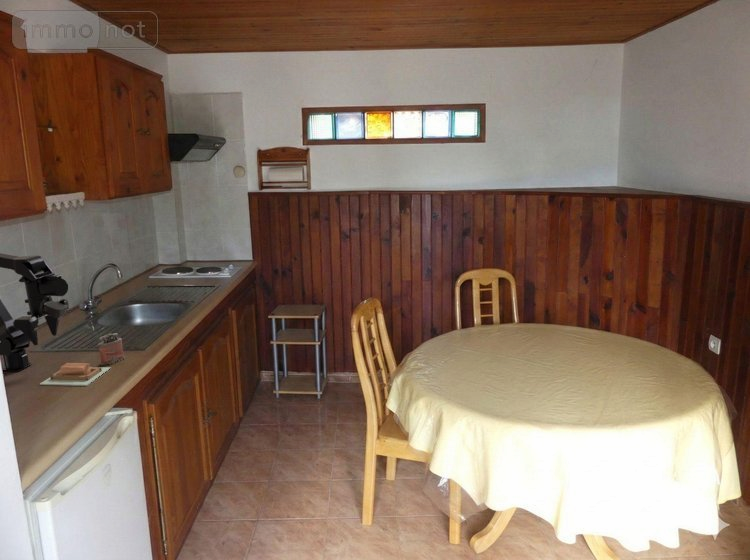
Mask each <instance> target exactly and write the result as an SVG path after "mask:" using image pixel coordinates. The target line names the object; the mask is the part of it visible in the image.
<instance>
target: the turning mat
mask: <svg viewBox="0 0 750 560" xmlns="http://www.w3.org/2000/svg"><path fill="white" fill-rule="evenodd" d="M110 368H111V369H112V367H110V366H109V367H106V366H103V367H102V366H90V370H91V373H90V374H88V375H87V376H81V375H61V369H59V370H58V371H56V372H54V373H53V374H51V375H50V376H49V377H48V378H47V379H45V380H44V381H42V382H40V383H39V385H40V386H71V387H72V386H74V387H80V386H82V387H87V386H89V385H90V384H92V383H93V382H94V381H96V380H97V379H99V378H100V377H101V375H102V374H103V373H104V374H106V373H107V372H109V371H110V370H111V369H110ZM109 369H110V370H109ZM108 370H109V371H108ZM106 371H107V372H106ZM105 372H106V373H105ZM104 374H103V375H104ZM103 375H102V376H103ZM99 376H100V377H99ZM98 377H99V378H98ZM96 378H97V379H96ZM95 379H96V380H95ZM91 382H92V383H91Z"/></svg>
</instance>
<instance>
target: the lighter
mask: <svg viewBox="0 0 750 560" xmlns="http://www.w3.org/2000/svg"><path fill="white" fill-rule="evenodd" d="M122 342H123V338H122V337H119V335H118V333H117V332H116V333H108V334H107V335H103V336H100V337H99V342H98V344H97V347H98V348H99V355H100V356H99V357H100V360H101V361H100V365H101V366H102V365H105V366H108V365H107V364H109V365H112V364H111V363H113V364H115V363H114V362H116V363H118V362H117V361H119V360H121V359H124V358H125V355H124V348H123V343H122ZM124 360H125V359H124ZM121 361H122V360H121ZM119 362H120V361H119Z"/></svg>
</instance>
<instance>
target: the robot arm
mask: <svg viewBox="0 0 750 560" xmlns="http://www.w3.org/2000/svg"><path fill="white" fill-rule="evenodd" d="M47 263H48V262H46V261H45V260H44V259H43V256H40V255H25V256H18V255H11V254H7V253H2V252H0V268H2V269H7V270H12V271H14V272H15V274H16V275H20V276H21V277H20V278H19V280H18V282H19V283H24V286H25V288H24V289H25V293H26V297H27V299H24V304H28V307H29V311H27V312H26V314H27V315H26V316H25V315H23V316H20V317H18V318H15V319H14V318H13V316H12V315H11V314H10V312H9V311H8V308H7V307H6V306H5V304H4V303H3V301H2V299H0V356H2V357H3V358H2V359H3V362H4V368H3V369H6V371H5V372H8V371H7V370H10V371H9V372H21V371H23V370H24V369H26V368H27V366H28V365H30V364H31V365H32V362H29V356H28V353H27V350H26V349H27V348H30V345H31V344H30V343H32V344H33V345H34V346H38V345H39V338H38V329H39V327H40V325H38V324H39V320H41V319H44V320H45V322H46V324H47V327H48V328H49V331H50V333H51V336H53V337H54V336H55V337H56V336H57V332H58V328H59V323H60V319H61V318H62V317H64V316H66V313H67V312H68V310H69V309H70V306H69V302H68V299H66V298H62V299H60V300H59V301H58V300H56V301H54V300H53V297H64V296H65V295H66V294H68V291H69V283H68V282H67V281H66V279H64V278H62V275H61V274H56V275H55V272H54V271H53V269H52V268H51V267H50V266H49V265H48V264H47ZM31 365H30V366H31ZM25 367H26V368H25ZM28 367H29V366H28ZM23 368H24V369H23ZM22 369H23V370H22ZM20 370H21V371H20Z"/></svg>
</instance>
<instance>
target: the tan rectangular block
mask: <svg viewBox="0 0 750 560" xmlns="http://www.w3.org/2000/svg"><path fill="white" fill-rule="evenodd" d="M90 364H91V363H89V362H87V363H86V362H83V363H81V362H66V363H64V364H63V365H62V366H60V369H59V370H61V375H81V376H87V375H88V374H90V373H91V370H90V367H91V365H90Z"/></svg>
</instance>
